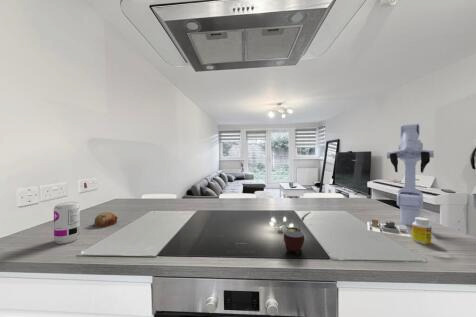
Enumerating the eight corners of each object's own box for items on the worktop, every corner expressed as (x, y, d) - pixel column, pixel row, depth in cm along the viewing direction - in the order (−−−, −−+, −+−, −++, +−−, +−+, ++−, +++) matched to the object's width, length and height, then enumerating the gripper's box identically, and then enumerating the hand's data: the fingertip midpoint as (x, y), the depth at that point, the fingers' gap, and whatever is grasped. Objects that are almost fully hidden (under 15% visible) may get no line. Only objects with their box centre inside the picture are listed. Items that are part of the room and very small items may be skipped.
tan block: (371, 224, 101) (371, 217, 101) (377, 224, 99) (377, 218, 99) (372, 225, 98) (372, 219, 98) (378, 226, 97) (378, 220, 97)
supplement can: (54, 246, 80) (53, 207, 80) (54, 239, 86) (53, 203, 86) (80, 240, 85) (80, 203, 85) (78, 235, 92) (78, 200, 91)
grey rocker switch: (398, 226, 94) (398, 224, 93) (405, 227, 92) (405, 225, 92) (400, 230, 90) (400, 228, 90) (407, 231, 89) (407, 229, 88)
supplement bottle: (428, 249, 77) (428, 221, 77) (409, 244, 81) (409, 218, 81) (433, 246, 80) (433, 219, 80) (415, 241, 84) (415, 215, 84)
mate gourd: (280, 249, 77) (280, 208, 77) (298, 246, 80) (298, 206, 80) (292, 258, 70) (292, 213, 70) (311, 254, 73) (311, 211, 73)
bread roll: (96, 230, 108) (88, 217, 105) (116, 218, 114) (109, 206, 112) (100, 235, 100) (91, 222, 98) (121, 222, 107) (113, 209, 104)
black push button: (385, 225, 95) (385, 220, 95) (394, 226, 93) (394, 221, 93) (386, 227, 92) (386, 222, 92) (395, 228, 90) (395, 223, 90)
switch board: (367, 224, 105) (367, 218, 105) (405, 230, 97) (405, 223, 97) (367, 233, 93) (367, 227, 93) (411, 240, 85) (411, 233, 85)
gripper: (386, 140, 90) (384, 164, 83) (432, 136, 81) (434, 163, 74) (388, 151, 94) (386, 175, 87) (433, 149, 84) (434, 176, 77)
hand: (408, 170), depth 81 cm, fingers open, 7 cm apart
